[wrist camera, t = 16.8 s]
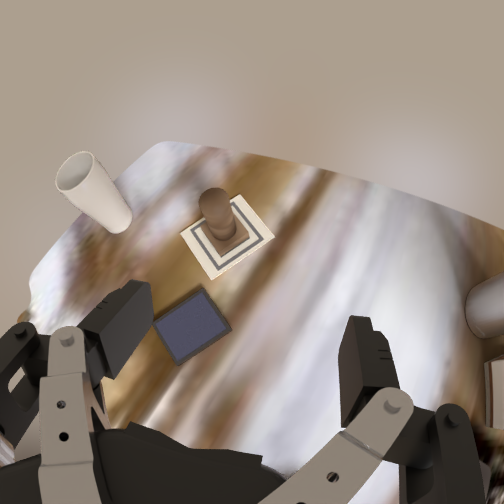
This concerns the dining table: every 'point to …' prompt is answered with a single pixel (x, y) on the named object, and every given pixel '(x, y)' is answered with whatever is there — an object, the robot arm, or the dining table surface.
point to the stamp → (221, 222)
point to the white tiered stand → (495, 392)
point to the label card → (219, 265)
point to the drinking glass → (93, 192)
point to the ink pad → (191, 327)
